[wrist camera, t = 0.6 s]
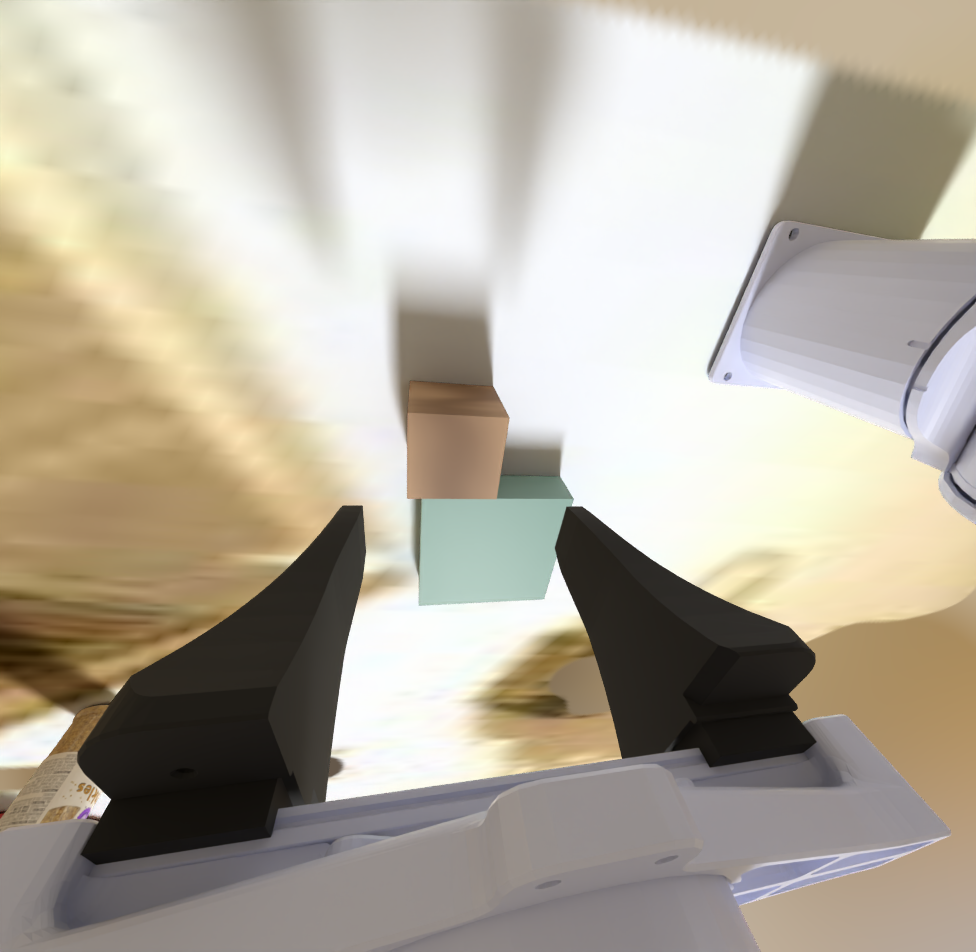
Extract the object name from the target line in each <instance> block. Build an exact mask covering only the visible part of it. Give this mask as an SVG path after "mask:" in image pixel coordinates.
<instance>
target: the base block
mask: <svg viewBox="0 0 976 952" xmlns="http://www.w3.org/2000/svg"><path fill="white" fill-rule="evenodd" d="M573 500H574V499H573V497H572V496H571V494H570V492H569V491H568V489H567V487H566V486H565V484H564V482H563V481H562V479H561V477H560V476H519V475H500V481H499V487H498V494H497V499H421V522H420V556H419V606H422V605H442V604H461V603H481V602H500V601H520V600H540V599H544V598H545V594H546V591H547V587H548V584H549V581H550V577H551V574H552V571H553V567H554V564H555V560H556V557H557V555H556V552H555V545H556V541H557V538H558V534H559V531H560V527H561V524H562V520H563V517H564V513H565V510H566V507H571V506H572V503H573Z"/></svg>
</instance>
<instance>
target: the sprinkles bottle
mask: <svg viewBox="0 0 976 952" xmlns="http://www.w3.org/2000/svg"><path fill="white" fill-rule="evenodd" d="M108 706H109V705H99V706H92V707H88V708H85V709H83V710H81V711H80V712H79V713H78V714H77V715H76V716H75V717H74V719H73V723H72V724H71V726H70V727H69V729H68V730H67V731H66V732H65V734H64V735H63V737H62V738H61V740H60V741H59V742H58V744H57V745H56V747H55V748H54V749H53V751H52V752H51V753H50V754H49V756H48V757H47V758H46V759H45V760H44V761H43V762H42V763H41V765H40V766H39V767H38V769H37V770H36V772H35V773H34V774H33V775H32V777H31V778H30V779H29V781H28V782H27V784H26V785H25V786H24V788H23V789H22V790H21V792H20V793H19V794H18V796H17V797H16V798H15V800H14V801H13V802H12V804H11V805H10V807H9V808H8V809H7V811H6V812H5V813H4V815H3V816H2V817H1V819H0V832H2V831H4V830H6V829H7V828H11V827H19V826H26V825H33V824H41V823H48V822H55V821H63V820H70V819H86V818H87V817H88V815H89V813H90V812H91V810H92V808H93V807H94V805H95V803H96V801H97V800H98V798H99V797H100V795H101V793H102V792H103V791H102V790H101V789H100V788H99V787H98V786H96V785H95V784H94V783H93V782H92V781H91V780H90V779H89V778H88V777H87V776H86V775H85V774H84V773H83V771H82V770H81V768H80V767H79V765H78V763H77V753H78V751H79V749H80V748H81V746H82V745H83V743H84V742H85V740H86V739H87V737H88V736H89V734H90V733H91V731H92V730H93V728H94V727H95V725H96V724H97V722H98V721H99V719H100V718H101V716H102V715H103V713H104V712H105V710H106V709H107V708H108Z"/></svg>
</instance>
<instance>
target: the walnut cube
mask: <svg viewBox="0 0 976 952" xmlns="http://www.w3.org/2000/svg"><path fill="white" fill-rule="evenodd" d="M508 424H509V416H508V414H507V412H506V410H505V408H504V406H503V404H502V402H501V400H500V399H499V397H498V395H497V393H496V391H495V389H494V387H493V386H480V385H465V384H450V383H435V382H421V381H410V388H409V400H408V412H407V499H497V494H498V487H499V481H500V475H501V468H502V462H503V456H504V450H505V443H506V437H507V431H508Z"/></svg>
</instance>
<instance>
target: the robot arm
mask: <svg viewBox="0 0 976 952" xmlns="http://www.w3.org/2000/svg"><path fill="white" fill-rule="evenodd" d="M791 230H792V235H791V237H790V238H789V233H790V232H791ZM726 373H727V376H726V377H725V378H724V375H725V374H726ZM708 377H709V380H710V382H712V383H715V384H723V385H735V386H748V387H761V388H773V389H785V390H788V391H790V392H793V393H795V394H798V395H800V396H803V397H805V398H808V399H810V400H813V401H815V402H818V403H820V404H823V405H826V406H828V407H831V408H833V409H836V410H838V411H841V412H843V413H846V414H848V415H851V416H853V417H856V418H859V419H861V420H864V421H866V422H869V423H871V424H874V425H876V426H879V427H881V428H884V429H886V430H889V431H891V432H894V433H897V434H899V435H902V436H904V437H907V438H909V439H912V440H914V449H913V452H912V455H911V458H913V459H915V460H918V461H920V462H922V463H924V464H927V465H929V466H931V467H934V468H936V469H938V470H941V474H940V476H939V479H938V484H939V490H940V492H941V494H942V496H943V498H944V499H945V500H946V501H947V502H948V504H949V505H950V506H951V507H952V508H954V509H955V510H956V511H957V512H958V513H960V514H961V515H962V516H963V517H965V518H966V519H968V520H970V521H971V522H973V523H974V524H976V239H922V240H891V239H885V238H880V237H875V236H870V235H864V234H859V233H854V232H849V231H843V230H838V229H833V228H828V227H822V226H817V225H812V224H807V223H801V222H796V221H791V220H789V221H781V222H779V223H777V224H776V225H775V226H774V228H773V229H772V231H771V233H770V235H769V238H768V240H767V242H766V244H765V247H764V249H763V251H762V254H761V256H760V258H759V261H758V263H757V265H756V267H755V270H754V272H753V274H752V277H751V279H750V281H749V283H748V286H747V288H746V290H745V293H744V295H743V297H742V300H741V302H740V304H739V306H738V309H737V311H736V313H735V316H734V318H733V320H732V323H731V325H730V327H729V329H728V332H727V334H726V336H725V339H724V341H723V343H722V345H721V348H720V350H719V352H718V355H717V357H716V359H715V362H714V364H713V366H712V368H711V371H710V373H709V376H708ZM555 552H556V555H557V559H558V563H559V566H560V569H561V573H562V575H563V578H564V580H565V582H566V585H567V587H568V589H569V592H570V594H571V596H572V598H573V601H574V603H575V605H576V607H577V610H578V612H579V614H580V616H581V619H582V621H583V623H584V626H585V628H586V631H587V633H588V636H589V639H590V642H591V645H592V648H593V651H594V654H595V657H596V660H597V663H598V667H599V670H600V674H601V677H602V680H603V684H604V687H605V691H606V695H607V698H608V702H609V706H610V710H611V714H612V717H613V721H614V725H615V730H616V734H617V738H618V743H619V747H620V751H621V756H622V759H618V760H611V761H604V762H597V763H591V764H584V765H577V766H570V767H563V768H556V769H549V770H542V771H535V772H529V773H522V774H515V775H508V776H501V777H494V778H487V779H480V780H473V781H467V782H460V783H453V784H446V785H439V786H432V787H425V788H418V789H411V790H405V791H398V792H391V793H384V794H377V795H370V796H363V797H356V798H349V799H343V800H336V801H329V802H325V800H326V791H327V782H328V773H329V765H330V764H329V763H330V756H331V748H332V740H333V733H334V725H335V717H336V710H337V702H338V695H339V688H340V681H341V674H342V667H343V660H344V654H345V649H346V644H347V640H348V636H349V632H350V628H351V624H352V620H353V616H354V612H355V608H356V604H357V600H358V596H359V592H360V588H361V583H362V579H363V572H364V564H365V555H366V546H365V532H364V518H363V506H342V507H341V508H340V509H339V510H338V512H337V513H336V514H335V516H334V517H333V518H332V520H331V521H330V522H329V523H328V525H327V526H326V527H325V528H324V529H323V531H322V532H321V533H320V534H319V535H318V536H317V538H316V539H315V540H314V541H313V542H312V543H311V544H310V546H309V547H308V548H307V549H306V550H305V551H304V552H303V553H302V554H301V555H300V556H299V557H298V558H297V559H296V560H295V561H294V562H293V563H292V564H291V565H290V566H289V567H288V568H287V569H286V570H285V571H284V572H283V573H282V574H281V575H280V576H279V577H278V578H277V579H275V580H274V581H273V582H272V583H271V584H270V585H269V586H267V587H266V588H265V589H264V590H263V591H262V592H260V593H259V594H258V595H257V596H255V597H254V598H253V599H251V600H250V601H249V602H248V603H246V604H245V605H244V606H242V607H241V608H240V609H238V610H237V611H236V612H234V613H233V614H232V615H230V616H229V617H228V618H226V619H225V620H223V621H222V622H220V623H219V624H217V625H216V626H214V627H213V628H211V629H210V630H208V631H207V632H205V633H204V634H202V635H201V636H199V637H197V638H196V639H194V640H193V641H191V642H189V643H188V644H186V645H185V646H183V647H181V648H180V649H178V650H176V651H174V652H173V653H171V654H169V655H167V656H166V657H164V658H162V659H160V660H159V661H157V662H155V663H153V664H152V665H150V666H148V667H146V668H145V669H143V670H141V671H139V672H137V673H136V674H134V675H132V676H131V677H130V678H129V680H128V681H127V682H126V684H125V685H124V686H123V687H122V689H121V690H120V691H119V692H118V694H117V695H116V696H115V697H114V699H113V700H112V702H111V703H110V705H109V706H108V708H107V709H106V710H105V712H104V713H103V715H102V716H101V718H100V719H99V721H98V722H97V724H96V725H95V727H94V728H93V730H92V731H91V733H90V734H89V736H88V737H87V739H86V740H85V742H84V743H83V745H82V746H81V748H80V749H79V751H78V753H77V763H78V765H79V767H80V768H81V770H82V771H83V773H84V774H85V775H86V776H87V777H88V778H89V779H90V780H91V781H92V782H93V783H94V784H95V785H96V786H98V787H99V788H100V789H101V790H102V791H103V792H104V793H105V794H106V795H107V796H108V797H109V798H110V799H111V801H110V803H109V804H108V806H107V808H106V810H105V811H104V813H103V815H102V817H101V819H100V820H99V822H98V821H96V820H91V819H70V820H63V821H55V822H48V823H41V824H33V825H26V826H19V827H11V828H7V829H6V830H4V831H2V832H0V952H761V951H760V949H759V947H758V945H757V943H756V941H755V939H754V937H753V935H752V933H751V930H750V928H749V927H748V924H747V922H746V920H745V918H744V916H743V914H742V912H741V910H740V908H739V905H743V904H746V903H750V902H753V901H757V900H760V899H764V898H767V897H770V896H774V895H777V894H781V893H784V892H787V891H791V890H795V889H798V888H801V887H805V886H809V885H812V884H815V883H819V882H823V881H826V880H830V879H834V878H837V877H841V876H845V875H849V874H853V873H857V872H861V871H864V870H868V869H872V868H876V867H879V866H881V865H883V864H886V863H888V862H890V861H893V860H895V859H897V858H900V857H902V856H904V855H907V854H909V853H911V852H913V851H916V850H918V849H920V848H923V847H925V846H927V845H930V844H932V843H934V842H937V841H939V840H941V839H944V838H946V837H948V836H951V830H950V829H949V828H948V827H947V825H946V824H945V823H944V822H943V821H942V820H941V819H940V818H939V817H938V815H937V814H936V813H935V812H934V811H933V810H932V809H931V808H930V807H929V806H928V805H927V803H926V802H925V801H924V800H923V799H922V798H921V797H920V796H919V795H918V793H917V792H916V791H915V790H914V789H913V788H912V787H911V786H910V785H909V784H908V782H907V781H906V780H905V779H904V778H903V777H902V776H901V775H900V774H899V772H898V771H896V769H895V768H894V767H893V766H892V765H891V764H890V763H889V761H888V760H887V759H886V758H885V757H884V756H883V755H882V754H881V753H880V752H879V750H878V749H877V748H876V747H875V746H874V745H873V744H872V743H871V742H870V741H869V740H868V738H867V737H866V736H865V735H864V734H863V733H862V732H861V731H860V729H858V727H857V726H856V725H855V724H854V723H853V722H852V721H851V720H850V718H849V717H848V716H846V715H843V714H840V715H832V716H825V717H818V718H813V719H809V720H807V721H804V722H803V723H801V721H800V720H799V719H798V718H797V716H796V715H795V714H794V713H793V711H796V710H797V709H798V707H797V704H796V703H795V702H794V700H793V699H792V698H791V697H790V696H789V693H790V692H791V691H792V690H793V689H794V688H795V687H796V686H797V685H798V684H799V683H800V682H801V681H802V680H803V679H804V678H805V677H806V676H807V675H808V674H809V673H810V671H811V670H812V669H813V667H814V665H815V653H814V652H813V651H812V650H811V649H810V648H809V647H808V646H807V645H806V644H805V643H804V642H803V641H802V640H801V638H800V637H799V636H798V635H797V634H796V633H795V632H794V631H793V630H792V629H791V628H790V627H789V626H786V625H783V624H781V623H778V622H776V621H773V620H770V619H768V618H765V617H763V616H760V615H757V614H755V613H752V612H750V611H747V610H745V609H743V608H740V607H738V606H736V605H734V604H731V603H729V602H727V601H725V600H723V599H721V598H718V597H716V596H714V595H712V594H710V593H708V592H706V591H704V590H702V589H701V588H699V587H697V586H695V585H693V584H691V583H689V582H687V581H686V580H684V579H682V578H680V577H679V576H677V575H675V574H674V573H672V572H670V571H669V570H667V569H666V568H664V567H662V566H661V565H659V564H658V563H656V562H655V561H653V560H652V559H650V558H649V557H647V556H646V555H645V554H643V553H642V552H640V551H639V550H637V549H636V548H635V547H633V546H632V545H631V544H629V543H628V542H627V541H625V540H624V539H623V538H622V537H620V536H619V535H618V534H616V533H615V532H614V531H613V530H611V529H610V528H609V527H608V526H606V525H605V524H604V523H603V522H601V521H600V520H599V519H598V518H596V517H595V516H594V515H593V514H591V513H590V512H589V511H587V510H586V509H585V508H583V507H566V510H565V513H564V517H563V520H562V524H561V527H560V531H559V534H558V538H557V541H556V545H555Z"/></svg>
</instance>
